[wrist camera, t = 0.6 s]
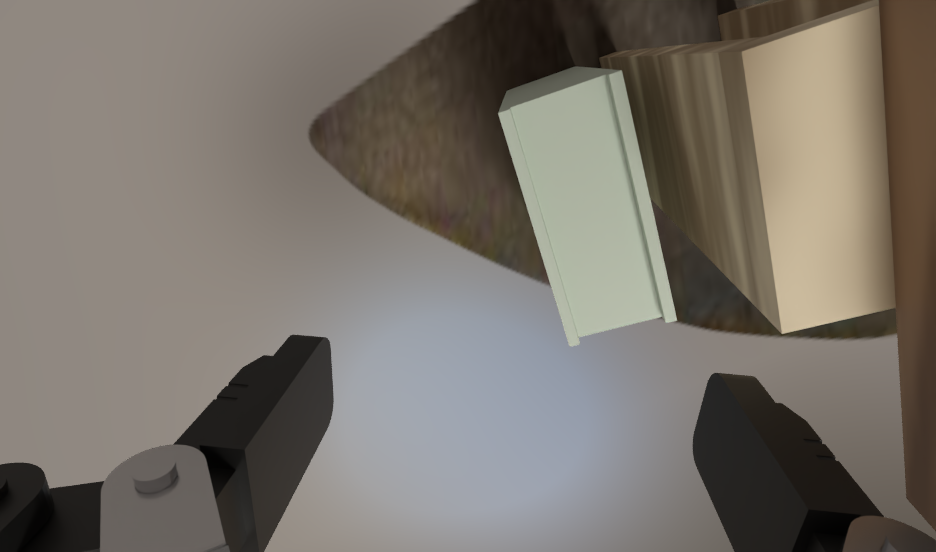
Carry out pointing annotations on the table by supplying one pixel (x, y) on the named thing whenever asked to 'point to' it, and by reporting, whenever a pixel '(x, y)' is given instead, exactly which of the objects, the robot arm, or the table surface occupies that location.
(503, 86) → the table surface
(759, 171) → the birch bridge
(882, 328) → the table surface
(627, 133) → the pale green upright block
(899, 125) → the walnut block
